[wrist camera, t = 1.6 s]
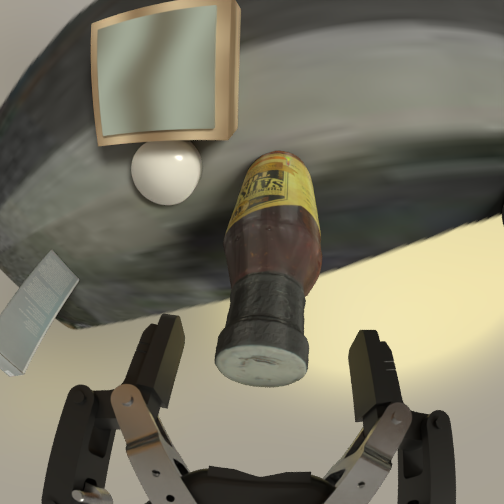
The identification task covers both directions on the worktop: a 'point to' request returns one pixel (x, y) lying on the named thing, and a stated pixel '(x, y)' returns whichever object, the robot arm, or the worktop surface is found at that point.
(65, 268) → the hard drive box
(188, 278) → the worktop surface
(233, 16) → the plinth
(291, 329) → the sauce bottle
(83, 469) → the robot arm
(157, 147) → the white round dome
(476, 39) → the worktop surface
